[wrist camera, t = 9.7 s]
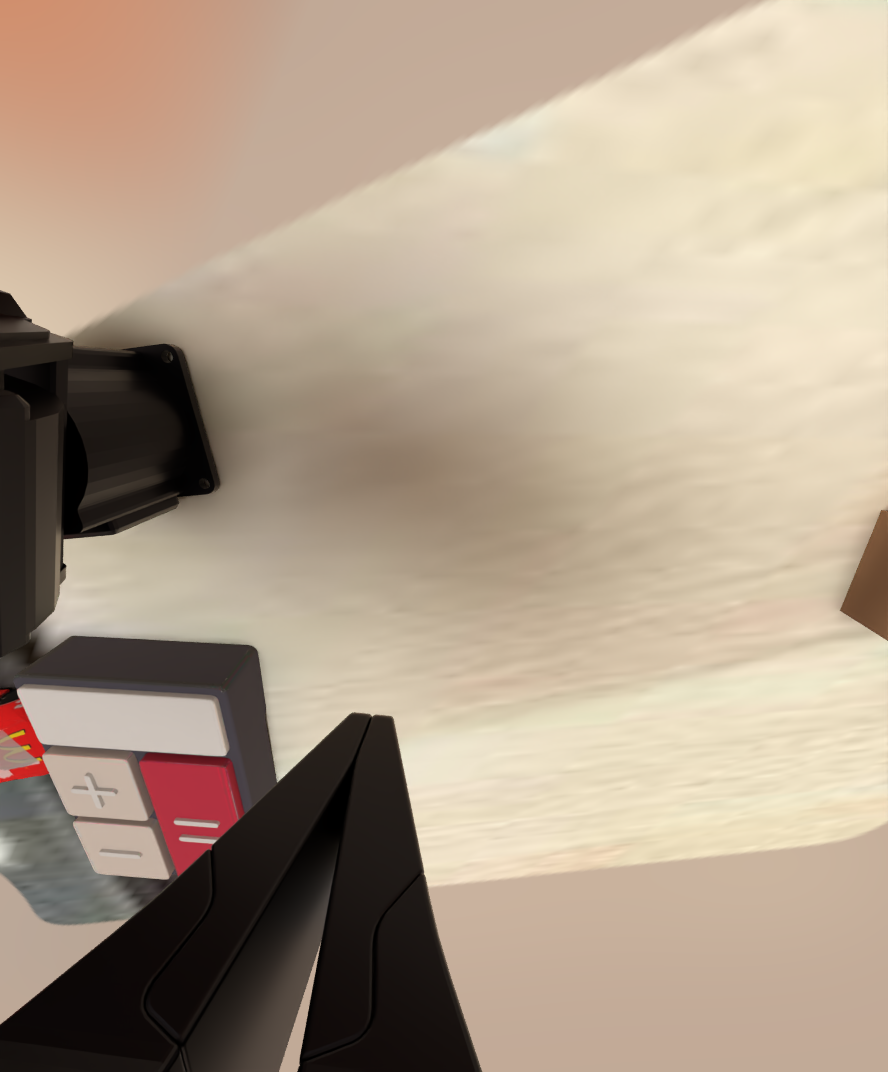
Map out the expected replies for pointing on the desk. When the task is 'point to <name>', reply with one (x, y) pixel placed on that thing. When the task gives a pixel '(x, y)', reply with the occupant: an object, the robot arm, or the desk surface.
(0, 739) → the race car
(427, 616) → the desk surface
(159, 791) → the calculator
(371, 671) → the desk surface
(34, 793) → the desk surface
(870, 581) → the beige tall block
